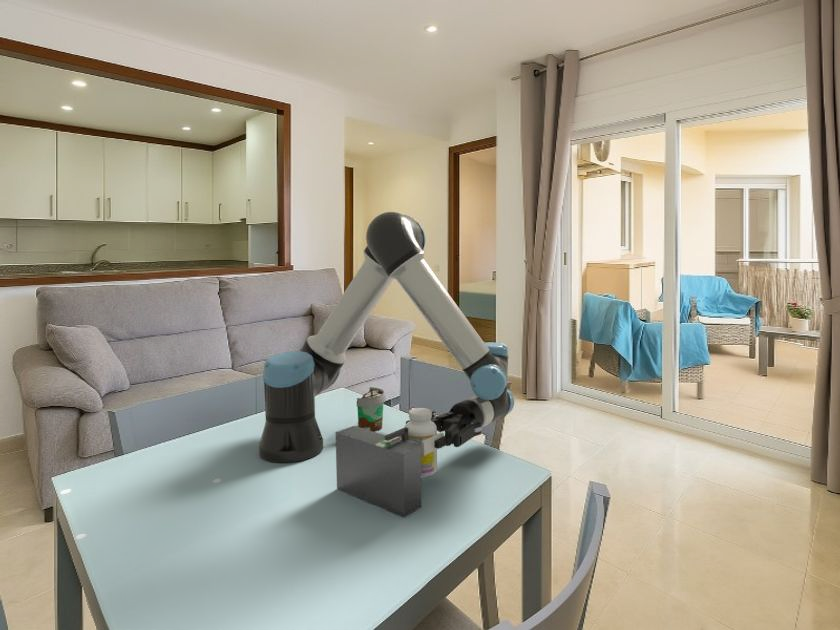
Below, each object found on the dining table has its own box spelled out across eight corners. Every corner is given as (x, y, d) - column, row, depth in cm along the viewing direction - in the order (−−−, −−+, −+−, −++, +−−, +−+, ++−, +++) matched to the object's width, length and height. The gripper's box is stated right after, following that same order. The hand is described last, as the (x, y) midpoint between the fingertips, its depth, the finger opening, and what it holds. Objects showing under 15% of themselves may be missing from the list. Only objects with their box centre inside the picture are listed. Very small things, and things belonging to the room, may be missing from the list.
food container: (379, 437, 132) (378, 399, 130) (357, 435, 133) (356, 398, 132) (391, 421, 144) (391, 387, 142) (370, 420, 145) (370, 386, 144)
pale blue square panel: (357, 486, 101) (356, 427, 100) (378, 476, 106) (377, 419, 104) (394, 501, 95) (394, 438, 94) (414, 490, 100) (414, 429, 98)
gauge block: (336, 489, 102) (335, 431, 101) (354, 480, 106) (353, 424, 105) (404, 517, 91) (403, 452, 90) (421, 506, 95) (421, 444, 94)
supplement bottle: (414, 462, 108) (414, 404, 107) (442, 468, 105) (442, 408, 104) (398, 474, 103) (398, 413, 101) (427, 480, 99) (427, 418, 98)
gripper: (507, 440, 112) (448, 475, 94) (437, 422, 124) (372, 450, 106) (508, 407, 111) (448, 437, 93) (437, 392, 123) (372, 416, 106)
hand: (408, 444), depth 100 cm, fingers closed on supplement bottle, 7 cm apart
